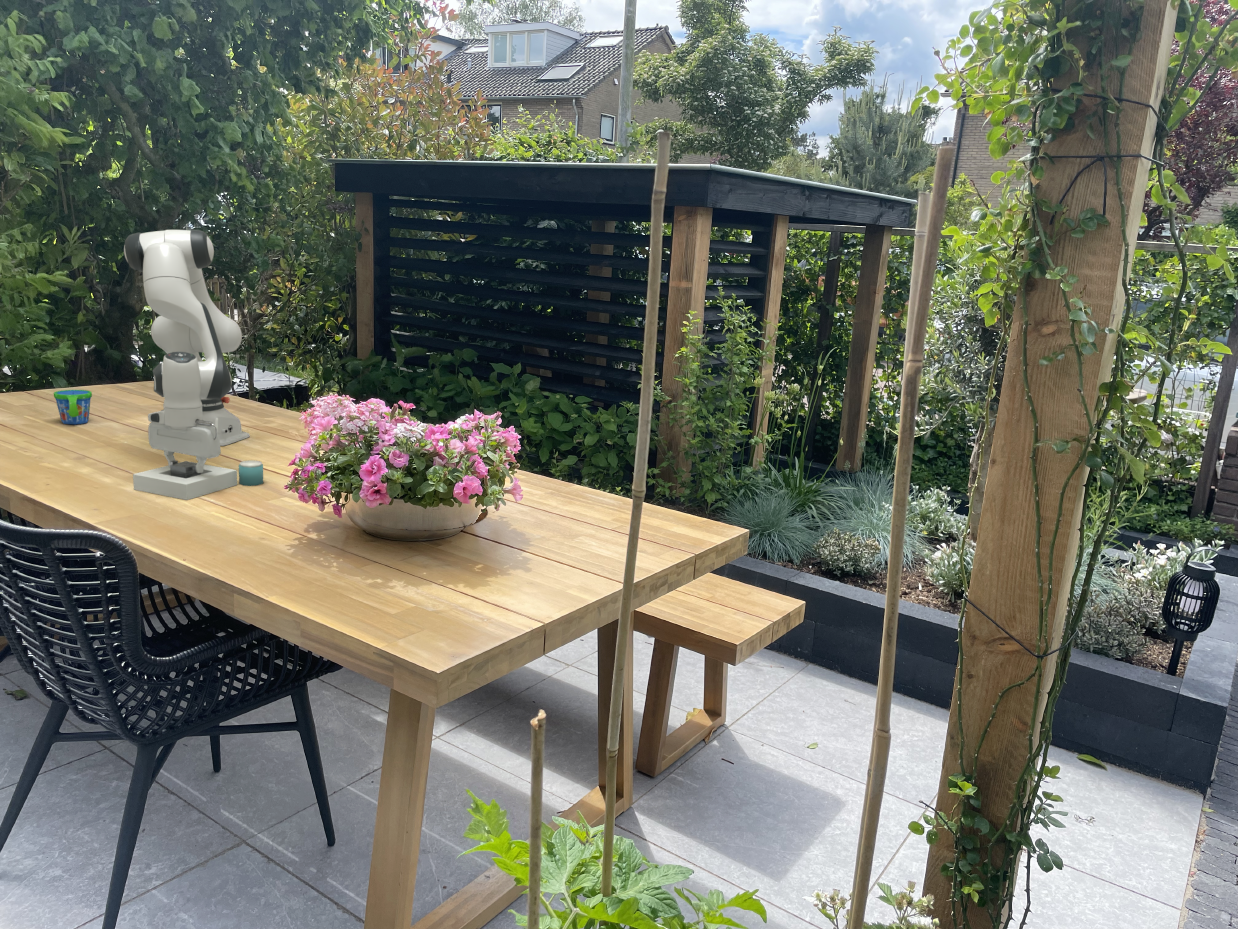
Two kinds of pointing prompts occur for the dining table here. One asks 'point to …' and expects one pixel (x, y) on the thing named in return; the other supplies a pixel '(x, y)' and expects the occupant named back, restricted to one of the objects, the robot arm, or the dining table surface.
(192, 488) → the tray
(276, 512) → the dining table surface
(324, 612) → the dining table surface
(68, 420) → the snack cup
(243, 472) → the teal pot
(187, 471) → the block
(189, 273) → the robot arm
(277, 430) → the dining table surface
